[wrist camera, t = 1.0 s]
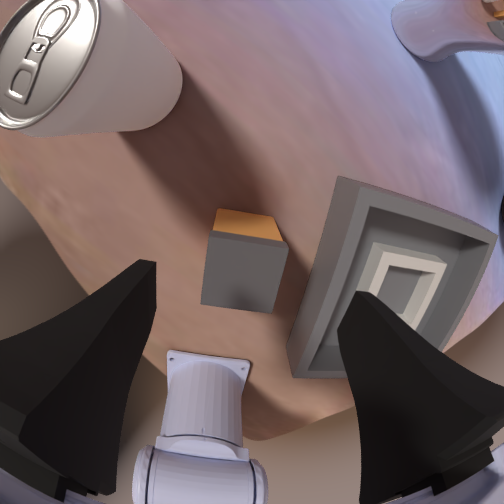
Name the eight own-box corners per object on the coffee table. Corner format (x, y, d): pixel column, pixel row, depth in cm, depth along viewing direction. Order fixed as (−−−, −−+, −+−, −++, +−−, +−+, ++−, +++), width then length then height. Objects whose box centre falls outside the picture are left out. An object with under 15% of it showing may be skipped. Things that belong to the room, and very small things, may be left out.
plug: (262, 267, 22) (271, 313, 16) (208, 259, 21) (200, 304, 16) (274, 215, 20) (289, 248, 15) (216, 206, 20) (208, 236, 14)
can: (202, 66, 15) (155, -17, 4) (154, 145, 17) (50, 172, 7) (129, 36, 14) (34, -29, 3) (85, 111, 16) (-38, 115, 5)
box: (413, 348, 27) (428, 371, 24) (285, 346, 25) (292, 377, 22) (472, 220, 21) (498, 235, 17) (337, 175, 19) (360, 186, 15)
